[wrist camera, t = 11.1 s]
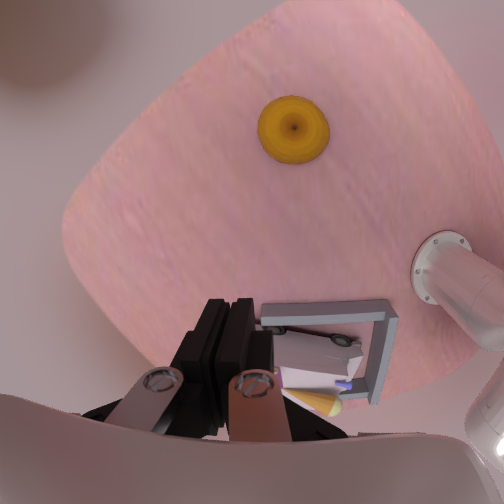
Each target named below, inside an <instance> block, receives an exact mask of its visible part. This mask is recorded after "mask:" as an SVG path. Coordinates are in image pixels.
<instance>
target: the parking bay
mask: <svg viewBox="0 0 504 504" xmlns="http://www.w3.org/2000/svg"><path fill="white" fill-rule="evenodd" d="M398 319H399V317H398V315H397V314H396V312H395V311H394V309H393V308H392V307H391V305H390V304H389V302H388V301H387V300H386V299H382V300H366V301H347V302H325V303H294V304H262V311H261V326H282V325H315V324H337V323H354V322H368V321H375V323H374V329H373V335H372V341H371V347H370V352H369V357H368V362H367V367H366V372H365V377H364V378H359V379H352V380H351V381H352V388H351V390H348V389H347V390H345V391H341V392H340V394H339V396H338V397H339V398H340V399H341V400H351V399H361V398H368V401H369V404H370V405H375V404H378V401H379V398H380V395H381V391H382V388H383V384H384V381H385V377H386V373H387V369H388V365H389V361H390V357H391V353H392V348H393V344H394V339H395V335H396V330H397V325H398Z"/></svg>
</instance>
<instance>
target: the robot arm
mask: <svg viewBox="0 0 504 504" xmlns="http://www.w3.org/2000/svg"><path fill="white" fill-rule="evenodd" d="M411 282H412V286H413V289H414V291H415V292H416V294H417V295H418V296H419V297H420V299H421V300H423V301H424V302H426V303H428V304H432V305H440V306H441V307H442V308H443V309H444V310H445V311H446V312H447V313H448V314H449V315H450V316H451V317H452V318H453V320H454V321H455V322H456V323H457V324H458V325H459V326H460V327H461V328H462V329H463V330H464V332H465V333H466V334H467V335H468V336H469V337H470V338H471V339H472V340H473V341H474V343H475V344H476V345H477V346H479V347H480V348H481V349H483V350H486V351H489V352H504V271H503V270H501V269H499V268H498V267H496V266H495V265H493V264H491V263H490V262H488V261H487V260H485V259H483V258H481V257H480V256H478V255H476V254H475V253H473V252H472V249H471V246H470V244H469V242H468V241H467V240H466V238H465V237H463V236H462V235H460V234H458V233H456V232H453V231H442V232H438V233H436V234H434V235H432V236H431V237H429V238H428V239H427V240H426V241H425V242H424V243H423V244H422V245H421V247H420V248H419V250H418V251H417V253H416V255H415V257H414V260H413V263H412V269H411ZM225 422H226V427H227V431H228V435H229V441H220V440H208V439H202V437H204V436H206V435H212V436H217V432H218V428H219V427H220V428H222V427H224V424H225ZM464 424H465V425H464V426H465V431H466V435H467V437H468V439H469V440H470V442H471V443H472V445H473V446H474V447H475V448H476V449H477V451H478V452H479V453H480V454H481V455H483V456H484V457H485V458H486V459H487V460H488V461H489V462H490V463H491V464H493V465H494V466H495V467H496V468H497V469H498V470H499V471H501V472H502V473H503V474H504V357H503V359H502V361H501V363H500V365H499V367H498V368H497V370H496V371H495V373H494V374H493V376H492V377H491V379H490V380H489V381H488V383H487V384H486V386H485V387H484V389H483V390H482V391H481V393H480V394H479V395H478V397H477V398H476V399H475V401H474V402H473V404H472V405H471V407H470V408H469V410H468V412H467V414H466V417H465V422H464ZM0 504H504V503H503V501H502V498H501V496H500V493H499V491H498V489H497V487H496V484H495V482H494V480H493V478H492V476H491V475H490V473H489V471H488V469H487V468H486V466H485V464H484V463H483V461H482V460H481V458H480V457H479V456H478V454H477V453H476V452H475V451H474V450H473V449H472V448H471V447H470V446H469V445H468V444H466V443H465V442H463V441H461V440H458V439H456V438H452V437H448V436H443V435H435V434H426V433H419V432H418V433H360V432H358V435H357V436H350V435H347V434H346V433H345V432H344V431H342V430H341V429H339V428H338V427H336V426H334V425H332V424H331V423H329V422H327V421H325V420H324V419H322V418H320V417H318V416H317V415H315V414H313V413H312V412H310V411H308V410H307V409H305V408H303V407H302V406H300V405H298V404H297V403H295V402H293V401H292V400H290V399H289V398H287V397H285V396H284V395H282V391H281V386H280V382H279V380H278V378H277V377H276V376H275V375H274V342H273V330H256V327H255V316H254V304H253V298H238V300H237V302H233V303H232V306H231V309H230V304H229V302H225V301H224V299H209V300H208V302H207V304H206V306H205V308H204V310H203V312H202V314H201V316H200V319H199V321H198V323H197V325H196V327H195V329H194V331H188V332H187V333H186V335H185V337H184V339H183V341H182V343H181V345H180V347H179V349H178V351H177V353H176V355H175V357H174V359H173V361H172V362H171V364H170V366H169V367H165V366H164V367H157V368H154V369H151V370H149V371H147V372H146V373H144V374H143V375H142V376H141V377H140V378H139V380H138V381H137V382H136V383H135V384H134V386H133V387H132V388H131V389H130V391H129V392H128V393H127V394H126V395H125V397H124V398H122V399H120V400H117V401H115V402H112V403H110V404H107V405H104V406H102V407H99V408H96V409H94V410H91V411H89V412H87V413H85V414H83V415H82V416H81V414H80V413H67V412H64V411H61V410H57V409H54V408H51V407H48V406H45V405H42V404H39V403H36V402H33V401H30V400H27V399H24V398H20V397H17V396H13V395H7V394H0Z"/></svg>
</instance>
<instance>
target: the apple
mask: <svg viewBox="0 0 504 504" xmlns="http://www.w3.org/2000/svg"><path fill="white" fill-rule="evenodd" d="M257 131H258V135H259V138H260V141H261V143H262V146H263V148H264V149H265V151H266V152H267V153H268V154H269V155H270V156H271V157H273V158H274V159H275V160H277V161H279V162H282V163H288V164H300V163H305V162H309V161H311V160H313V159H315V158H316V157H317V156H318V155H319V154H320V153H321V152H322V151H323V149H324V148H325V146H326V145H327V143H328V140H329V137H330V131H329V126H328V123H327V120H326V119H325V117H324V115H323V113H322V112H321V111H320V110H319V108H318V107H317V106H316V105H315V104H314V103H313V102H312V101H309V100H307V99H305V98H301V97H296V96H285V97H280V98H278V99H276V100H274V101H272V102H270V103H269V104H268V105H267V106H265V108H264V109H263V111H262V113H261V116H260V118H259V121H258V130H257Z"/></svg>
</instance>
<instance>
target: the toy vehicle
mask: <svg viewBox="0 0 504 504" xmlns="http://www.w3.org/2000/svg"><path fill="white" fill-rule="evenodd" d="M255 327H256V330H273V342H274V375H275V376H276V377H277V378H278V380H279V382H280V386H281V391H282V395H284V396H285V397H287V398H289V399H290V400H292V401H293V402H295V403H297V404H298V405H300V406H302V407H303V408H305V409H310V410H317V411H319V412H320V413H322V414H324V415H326V416H335V415H337V414H339V413H340V411H341V410H342V407H343V404H342V401H341V399H340V398H339V397H338V396H339V394H340V392H341V391H345V390H347V389H348V390H351V388H352V381H351V380H352V378H353V376H354V374H355V372H356V370H357V368H358V366H359V364H360V362H361V360H362V358H363V356H364V355H363V352H362V350H361V346H362V344H361V342H359V341H354V342H352V344H351V342H350V340H349V339H348V338H347V337H345V336H343V335H333V336H332V337H331V338H327V337H321V336H315V335H310V334H304V333H299V332H293V331H288V330H287V331H286V333H285V330H284V328H283V327H282V326H261V322H260V325H258V324H255Z"/></svg>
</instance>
